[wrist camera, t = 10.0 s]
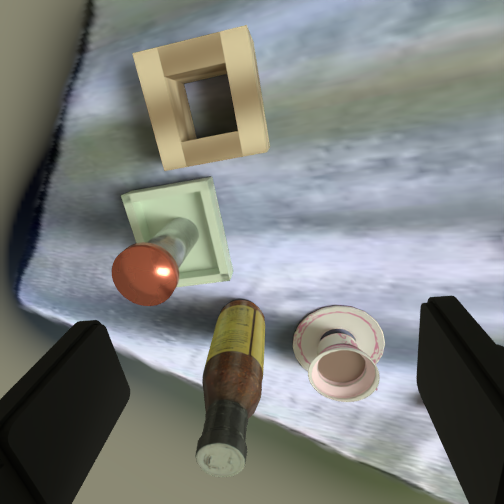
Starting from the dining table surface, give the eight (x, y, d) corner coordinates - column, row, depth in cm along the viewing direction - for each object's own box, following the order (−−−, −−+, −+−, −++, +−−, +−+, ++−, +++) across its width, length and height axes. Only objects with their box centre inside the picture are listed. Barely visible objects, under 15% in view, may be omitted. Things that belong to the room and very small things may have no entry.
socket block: (157, 64, 34) (132, 53, 28) (253, 41, 32) (246, 25, 27) (182, 163, 37) (164, 170, 32) (269, 147, 36) (266, 152, 30)
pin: (154, 214, 39) (102, 252, 28) (199, 207, 38) (165, 242, 27) (167, 258, 41) (123, 309, 30) (210, 251, 40) (182, 301, 29)
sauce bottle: (210, 319, 45) (158, 458, 26) (238, 288, 42) (201, 416, 24) (249, 345, 46) (224, 497, 27) (277, 316, 43) (271, 460, 25)
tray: (131, 190, 39) (120, 195, 37) (212, 176, 37) (206, 180, 35) (159, 280, 43) (151, 290, 41) (233, 271, 42) (230, 280, 39)
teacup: (276, 352, 46) (274, 385, 40) (325, 288, 41) (331, 315, 36) (348, 390, 47) (356, 428, 41) (403, 332, 43) (421, 364, 37)
